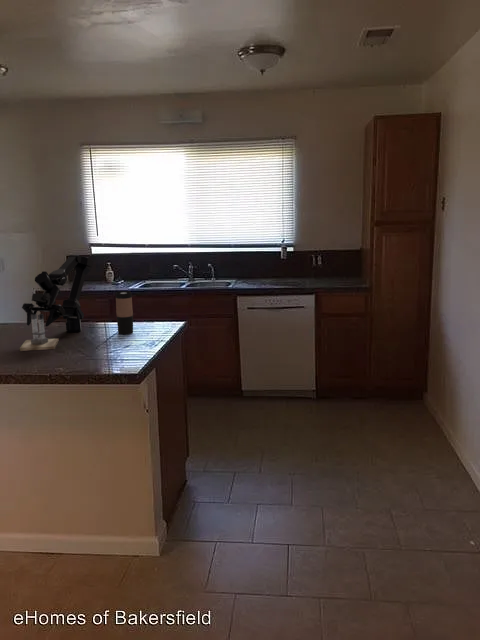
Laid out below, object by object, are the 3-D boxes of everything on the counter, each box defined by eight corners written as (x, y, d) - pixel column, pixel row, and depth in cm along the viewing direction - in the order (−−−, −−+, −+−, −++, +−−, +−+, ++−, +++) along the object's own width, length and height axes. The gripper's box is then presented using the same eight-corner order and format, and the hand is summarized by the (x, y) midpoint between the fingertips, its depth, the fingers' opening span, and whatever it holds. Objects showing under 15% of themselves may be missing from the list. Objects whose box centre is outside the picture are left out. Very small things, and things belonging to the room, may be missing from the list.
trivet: (58, 341, 242) (58, 338, 241) (54, 349, 228) (53, 346, 228) (26, 342, 239) (26, 340, 239) (19, 350, 226) (19, 348, 225)
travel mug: (114, 333, 254) (111, 292, 250) (124, 330, 261) (122, 290, 257) (126, 335, 251) (124, 294, 246) (136, 332, 257) (134, 291, 253)
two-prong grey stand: (48, 342, 235) (45, 313, 232) (41, 344, 231) (39, 315, 228) (37, 341, 236) (35, 313, 233) (31, 344, 232) (28, 315, 229)
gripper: (22, 285, 234) (8, 314, 226) (59, 286, 230) (46, 316, 222) (34, 299, 244) (22, 328, 236) (70, 301, 239) (59, 330, 231)
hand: (36, 325), depth 231 cm, fingers open, 9 cm apart
